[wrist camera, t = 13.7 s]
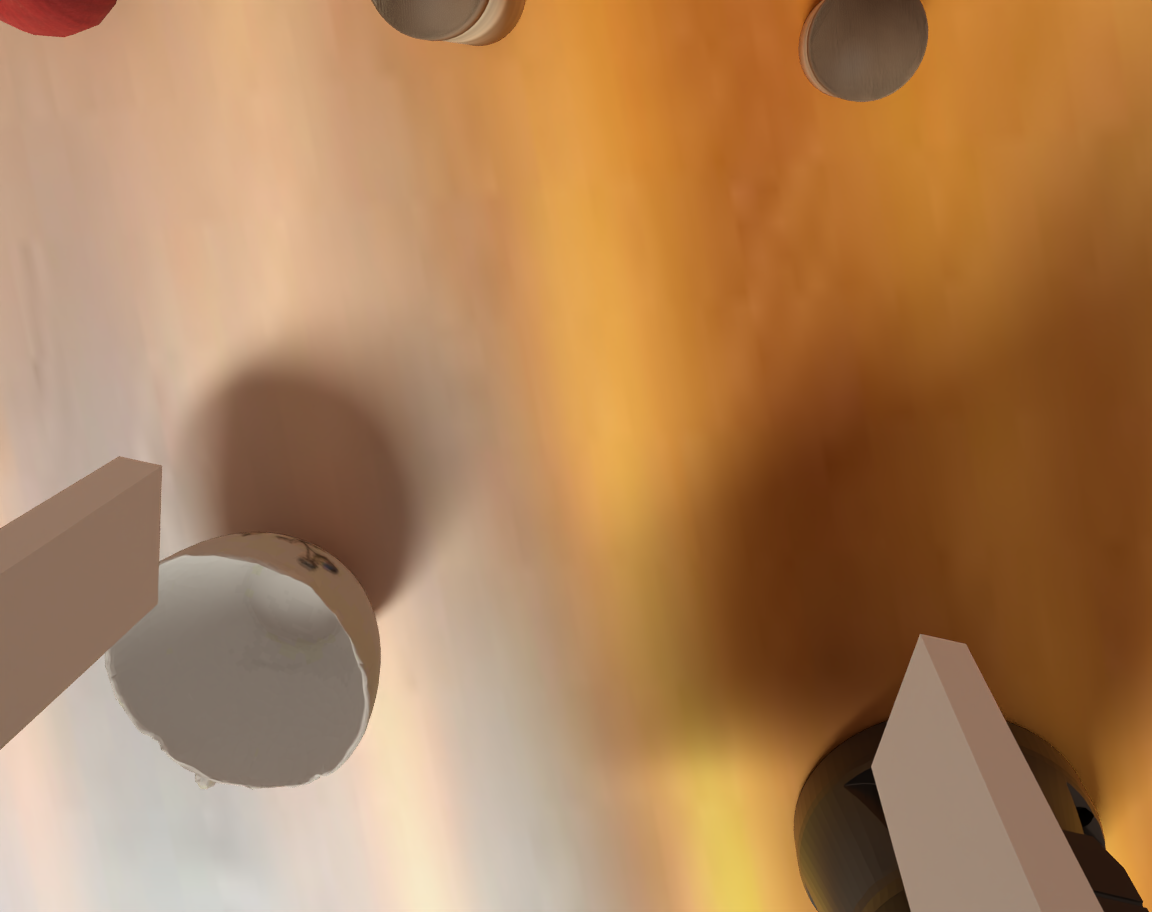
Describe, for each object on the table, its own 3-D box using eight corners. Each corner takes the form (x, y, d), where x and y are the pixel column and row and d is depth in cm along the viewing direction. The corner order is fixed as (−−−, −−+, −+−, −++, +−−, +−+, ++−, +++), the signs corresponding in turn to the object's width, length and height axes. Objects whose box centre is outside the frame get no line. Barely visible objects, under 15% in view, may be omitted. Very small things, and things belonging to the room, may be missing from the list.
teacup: (224, 441, 47) (137, 509, 39) (453, 548, 48) (410, 634, 40) (148, 666, 53) (60, 762, 45) (354, 758, 53) (300, 867, 46)
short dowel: (918, -2, 36) (944, -11, 33) (884, 109, 38) (905, 112, 34) (814, -24, 37) (828, -36, 33) (784, 87, 38) (795, 88, 34)
